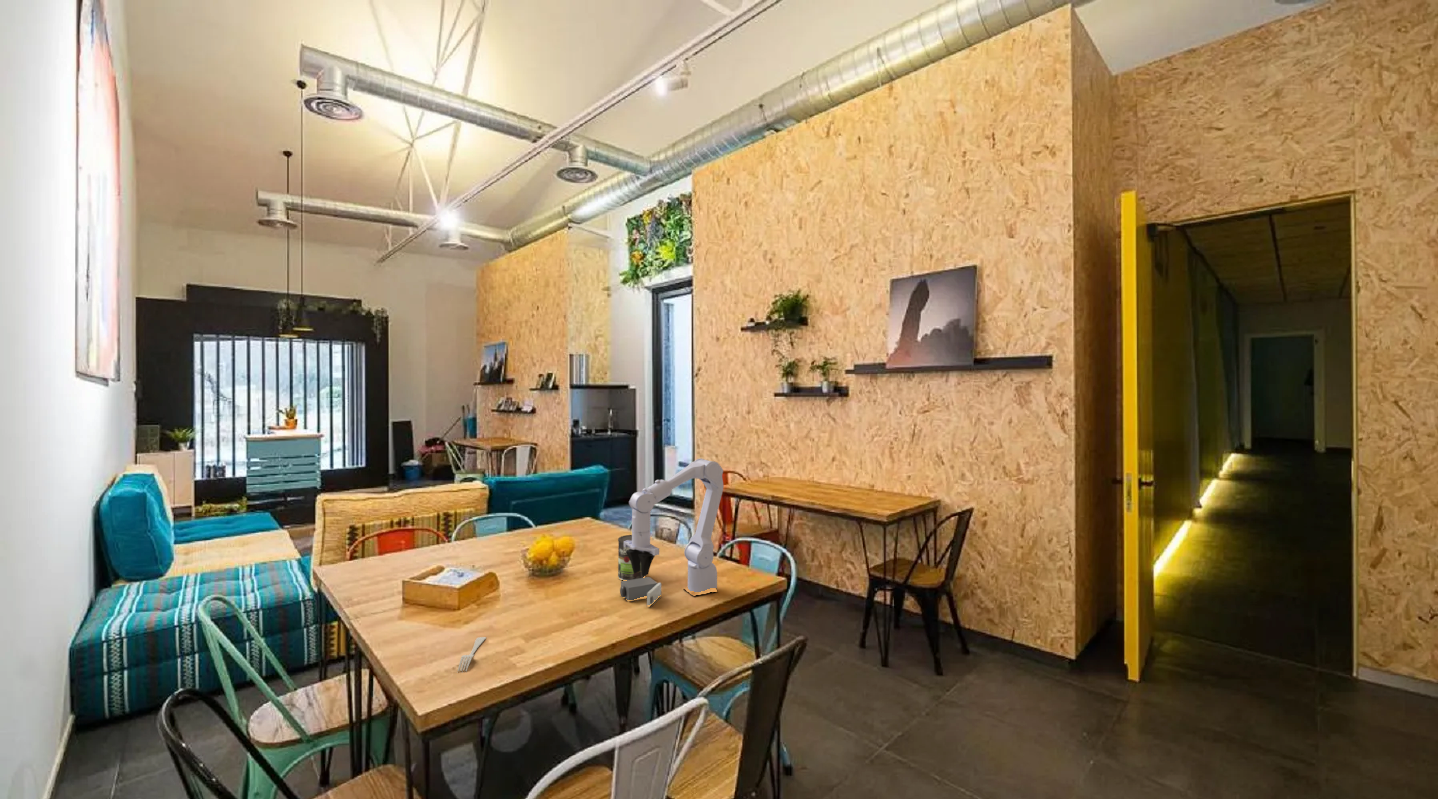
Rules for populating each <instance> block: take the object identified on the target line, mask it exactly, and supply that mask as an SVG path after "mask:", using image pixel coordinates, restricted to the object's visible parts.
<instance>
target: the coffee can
mask: <svg viewBox="0 0 1438 799" xmlns="http://www.w3.org/2000/svg"><path fill="white" fill-rule="evenodd" d="M626 540H631V541H632V534H626V535H621V536H619V537H618V539H617V541H618V549H617V550H618V553H617V554H618V556H617V557H618V559H617V560H618V562H617V564H618V565H617V571H618V572H617V578H618V577H619V579H621V580H633V579H639V578H643V577H644V576H642V572H641V563H640V572H637V573H633V569H632V565H631V561H630V559H629V557H628V555H627V553H626V551H628V550H629V549H630V548H629V547H624V541H626ZM642 553H644V552H642ZM645 576H647V575H645ZM619 579H618V580H619ZM621 580H620V581H621Z"/></svg>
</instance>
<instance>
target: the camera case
mask: <svg viewBox="0 0 1438 799" xmlns="http://www.w3.org/2000/svg"><path fill="white" fill-rule="evenodd" d="M658 583H659V582H657V581H655V580H654V579H653V578H652V577H651V576H647V577H645V578H639V579H633V580H627V581H621V580H620V588H619V592H620V593H619V594H620V597H621V598H623V597H625V598H626V599H627V600H634V599H637V598H640V597H644V596H647V593H648V592H649V591H650V590H651V589H652V588H653V587H654V586H655V585H657V584H658ZM625 598H624V599H625ZM626 599H625V600H626ZM627 600H626V601H627Z"/></svg>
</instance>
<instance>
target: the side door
mask: <svg viewBox="0 0 1438 799" xmlns="http://www.w3.org/2000/svg"><path fill="white" fill-rule="evenodd" d="M657 583H658V584H657V585H655V586H654V587H653V588H652V589H651V590H650V591H649V592H648V593H647V599H646V606H647V605H650V604H652V603H653V602H654V600H656V599H657V598H658V596H660V595H661V596H662V582H657Z"/></svg>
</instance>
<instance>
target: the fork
mask: <svg viewBox="0 0 1438 799" xmlns="http://www.w3.org/2000/svg"><path fill="white" fill-rule="evenodd" d="M486 639H487V636H481V637H479V636H478V637H477V638H476V639H475V640H474V644H473V647H472V650H471V651H470V653H469V654H463V655H461V658H460V660H459V663H458V664H459V665H458V669H457V672H458V671H459V672H460V671H462V672H463V670H464V671H466V672H468V669H469V666H470V663H471V661H472V659H473V657H474V656H475V653H476V651H477V650H478V648H479V647H480V646H481V645H482V644H483V642H484V641H485V640H486Z"/></svg>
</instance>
